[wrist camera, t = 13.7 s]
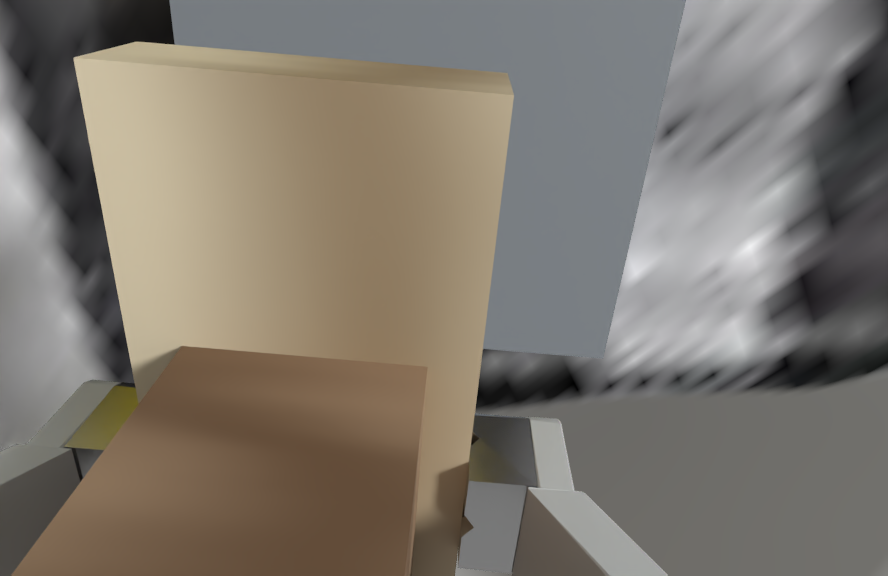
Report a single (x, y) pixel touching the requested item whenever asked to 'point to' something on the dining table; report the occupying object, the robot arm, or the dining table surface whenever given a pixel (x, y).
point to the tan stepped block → (308, 223)
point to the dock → (513, 128)
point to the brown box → (251, 474)
